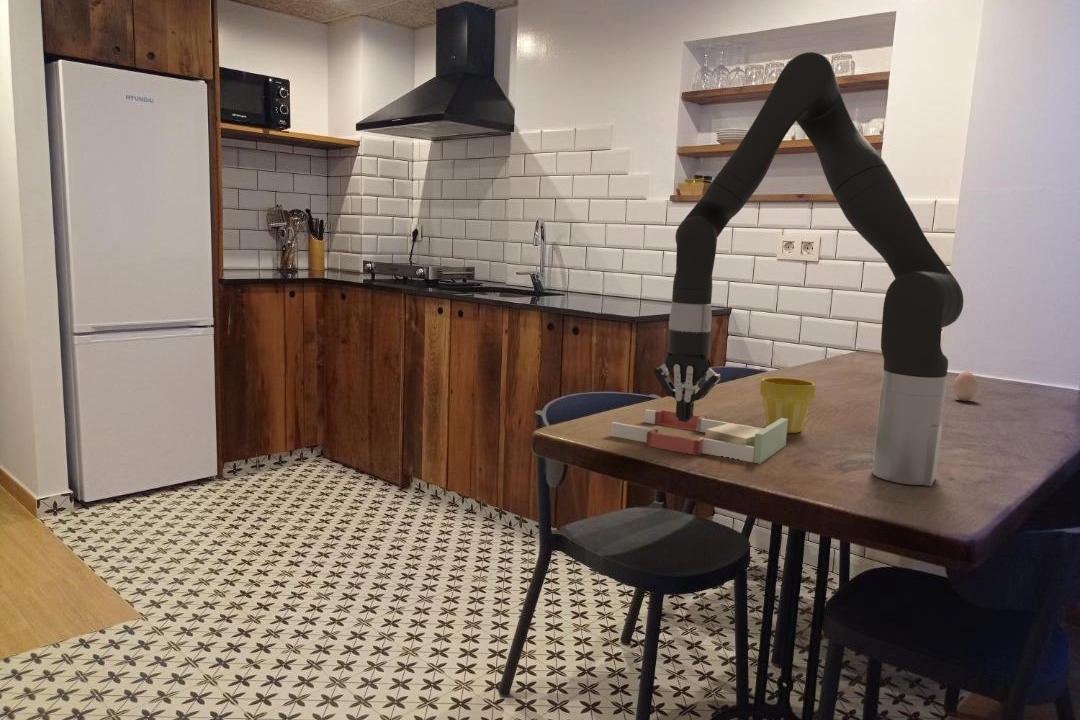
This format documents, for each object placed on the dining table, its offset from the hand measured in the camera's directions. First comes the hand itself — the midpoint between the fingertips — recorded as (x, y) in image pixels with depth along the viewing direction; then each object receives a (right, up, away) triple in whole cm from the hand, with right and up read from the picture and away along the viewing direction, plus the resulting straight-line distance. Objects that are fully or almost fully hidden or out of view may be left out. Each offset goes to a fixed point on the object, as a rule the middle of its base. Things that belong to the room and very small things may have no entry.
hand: (683, 420), depth 150 cm
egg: (+79, +1, +52) cm, 94 cm away
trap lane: (+3, -4, -1) cm, 4 cm away
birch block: (+8, -5, -6) cm, 11 cm away
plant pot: (+22, -3, +12) cm, 25 cm away
